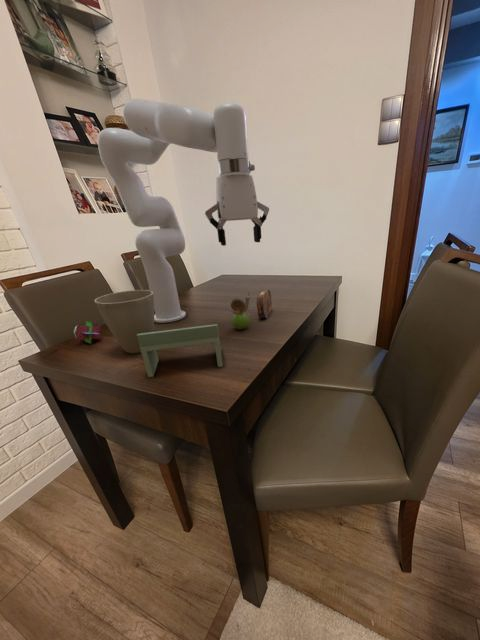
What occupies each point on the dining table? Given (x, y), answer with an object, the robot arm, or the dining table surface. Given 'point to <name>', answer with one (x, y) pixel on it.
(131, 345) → the plant pot
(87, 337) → the geometric puzzle
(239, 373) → the dining table surface
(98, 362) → the dining table surface
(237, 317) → the snail figurine
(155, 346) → the shelf
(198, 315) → the dining table surface
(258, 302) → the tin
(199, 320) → the dining table surface
